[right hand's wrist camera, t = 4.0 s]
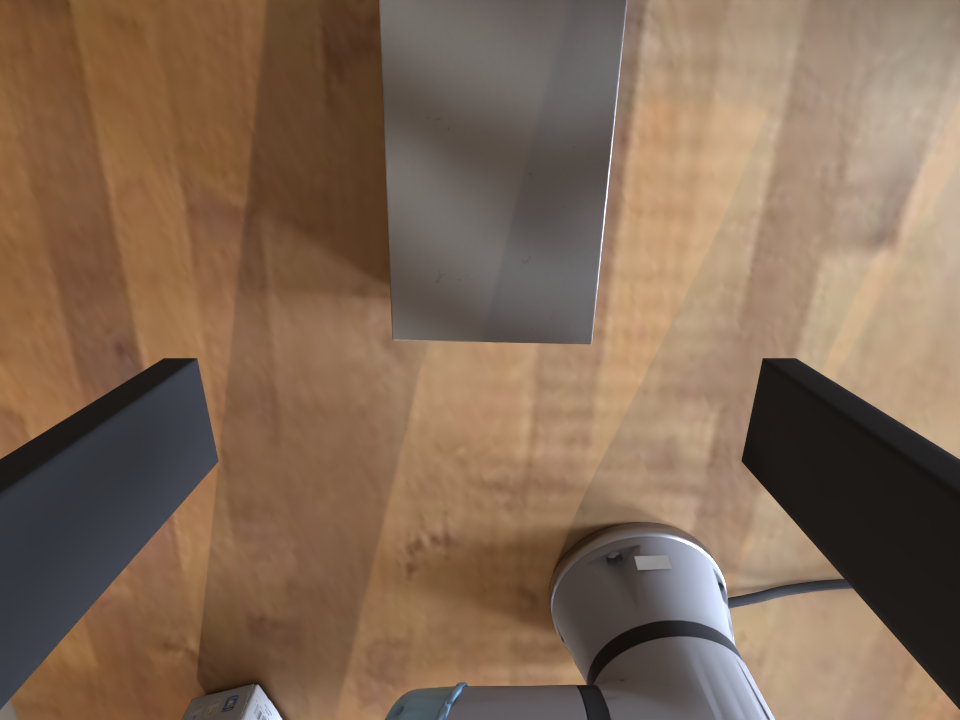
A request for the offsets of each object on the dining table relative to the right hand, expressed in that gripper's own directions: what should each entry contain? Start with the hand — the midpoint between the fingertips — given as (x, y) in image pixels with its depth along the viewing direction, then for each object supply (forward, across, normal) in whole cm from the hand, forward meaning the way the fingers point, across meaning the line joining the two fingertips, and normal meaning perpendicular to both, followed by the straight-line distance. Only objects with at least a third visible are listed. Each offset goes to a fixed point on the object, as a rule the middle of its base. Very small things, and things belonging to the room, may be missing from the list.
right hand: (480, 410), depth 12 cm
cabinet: (+26, -1, -7) cm, 27 cm away
